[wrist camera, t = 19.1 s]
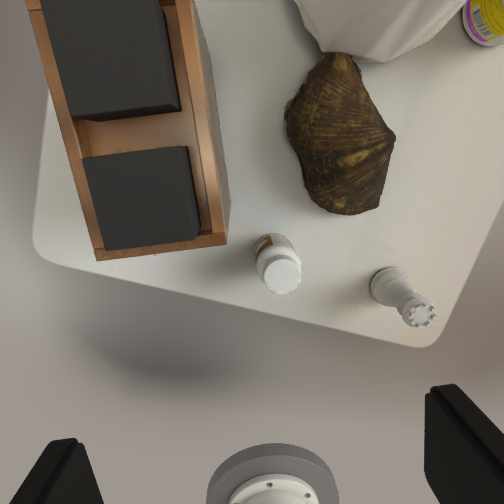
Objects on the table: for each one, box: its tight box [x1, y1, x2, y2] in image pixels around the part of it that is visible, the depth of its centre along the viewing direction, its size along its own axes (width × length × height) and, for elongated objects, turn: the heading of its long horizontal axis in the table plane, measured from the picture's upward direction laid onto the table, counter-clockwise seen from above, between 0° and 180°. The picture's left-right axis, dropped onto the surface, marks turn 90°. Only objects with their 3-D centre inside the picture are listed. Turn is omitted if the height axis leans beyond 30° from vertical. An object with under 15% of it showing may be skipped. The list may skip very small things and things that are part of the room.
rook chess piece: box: [370, 268, 437, 329], centre depth 36 cm, size 4×4×8 cm
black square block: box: [81, 146, 201, 251], centre depth 20 cm, size 5×5×4 cm
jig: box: [25, 0, 231, 261], centre depth 26 cm, size 14×8×16 cm, turn 7°
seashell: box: [284, 52, 396, 215], centre depth 32 cm, size 16×9×7 cm, turn 19°
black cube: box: [40, 0, 182, 122], centre depth 18 cm, size 5×5×4 cm
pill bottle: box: [254, 234, 301, 294], centre depth 34 cm, size 4×4×8 cm
